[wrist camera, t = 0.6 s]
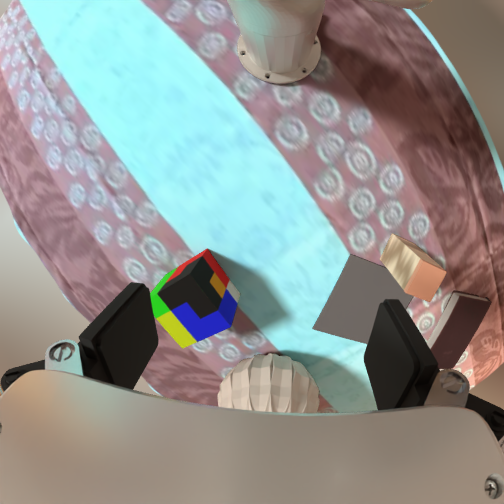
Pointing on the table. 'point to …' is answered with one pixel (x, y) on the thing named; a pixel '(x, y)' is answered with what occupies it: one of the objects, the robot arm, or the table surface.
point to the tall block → (412, 268)
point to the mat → (358, 300)
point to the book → (457, 327)
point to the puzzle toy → (195, 300)
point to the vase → (269, 386)
